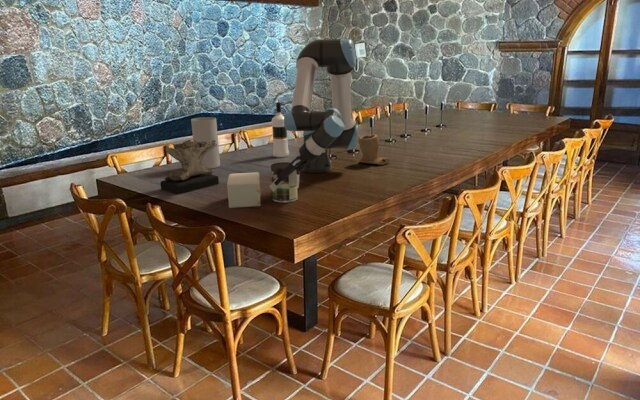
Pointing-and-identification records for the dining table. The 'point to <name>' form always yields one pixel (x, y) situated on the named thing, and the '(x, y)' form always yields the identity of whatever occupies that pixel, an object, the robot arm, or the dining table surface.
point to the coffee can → (284, 184)
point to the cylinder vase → (207, 139)
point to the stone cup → (371, 150)
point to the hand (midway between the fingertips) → (277, 185)
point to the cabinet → (243, 190)
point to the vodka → (279, 134)
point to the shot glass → (298, 180)
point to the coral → (190, 168)
